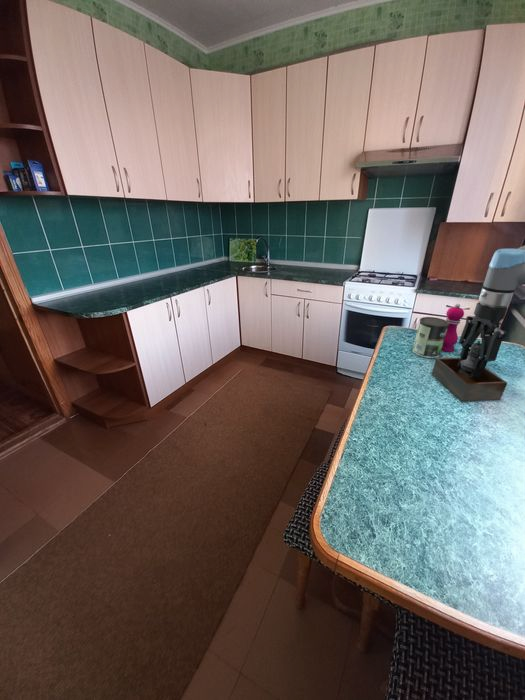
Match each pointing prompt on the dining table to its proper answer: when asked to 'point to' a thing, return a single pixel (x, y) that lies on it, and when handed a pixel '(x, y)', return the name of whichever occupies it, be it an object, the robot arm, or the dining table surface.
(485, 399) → the holder
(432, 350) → the coffee can
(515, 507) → the dining table surface
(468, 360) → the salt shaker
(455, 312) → the pepper mill
